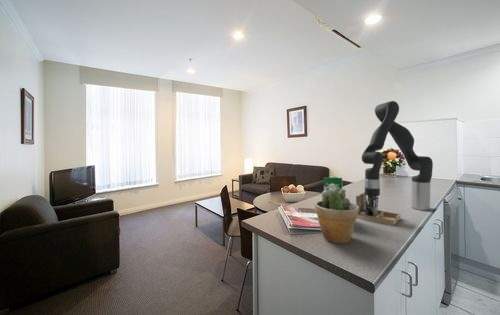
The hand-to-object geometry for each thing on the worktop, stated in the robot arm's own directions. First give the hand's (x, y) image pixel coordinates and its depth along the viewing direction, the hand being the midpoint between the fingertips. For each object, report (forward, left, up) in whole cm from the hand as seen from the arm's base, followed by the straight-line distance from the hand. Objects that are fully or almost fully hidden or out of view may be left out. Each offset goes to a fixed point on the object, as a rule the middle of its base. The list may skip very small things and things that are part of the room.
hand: (372, 216), depth 122 cm
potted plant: (+39, -3, -1) cm, 39 cm away
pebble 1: (-4, -3, +1) cm, 6 cm away
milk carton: (+18, -14, -1) cm, 23 cm away
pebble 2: (+4, -3, +1) cm, 6 cm away
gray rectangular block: (0, 0, 0) cm, 0 cm away
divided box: (0, +3, -1) cm, 3 cm away
